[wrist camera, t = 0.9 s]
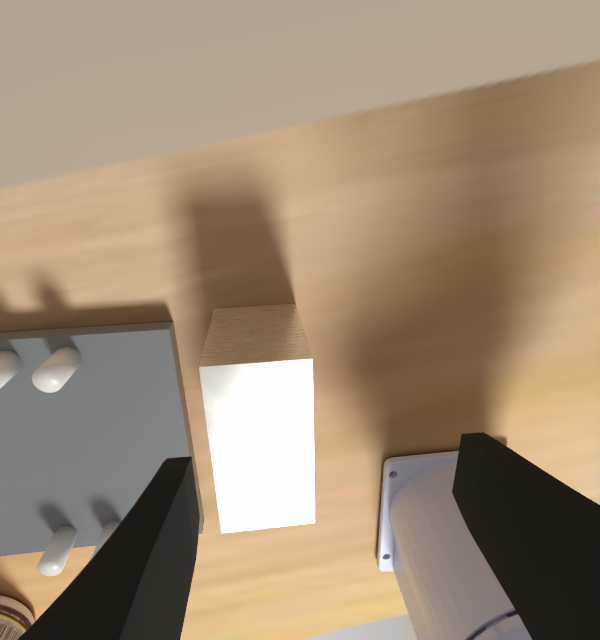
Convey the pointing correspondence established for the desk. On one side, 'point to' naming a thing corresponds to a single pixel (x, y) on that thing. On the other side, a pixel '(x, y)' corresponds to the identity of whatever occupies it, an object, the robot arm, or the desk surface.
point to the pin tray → (84, 432)
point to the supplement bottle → (13, 618)
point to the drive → (259, 416)
